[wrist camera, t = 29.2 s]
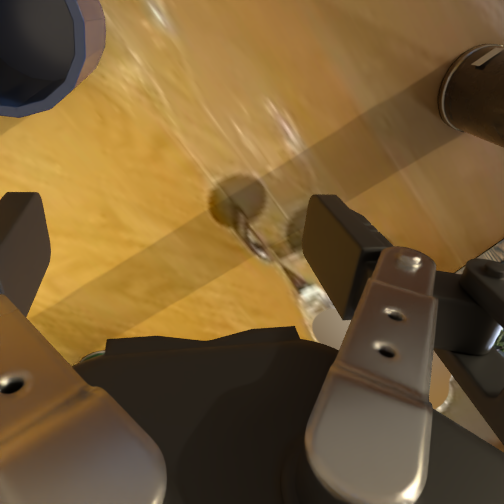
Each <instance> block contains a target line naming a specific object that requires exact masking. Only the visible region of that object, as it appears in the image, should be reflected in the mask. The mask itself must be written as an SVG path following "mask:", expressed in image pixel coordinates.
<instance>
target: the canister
mask: <svg viewBox="0 0 504 504" xmlns="http://www.w3.org/2000/svg"><path fill="white" fill-rule="evenodd" d="M105 40H106V26H105V16H104V13H103V10H102V7H101V4H100V1H99V0H0V116H8V117H17V118H20V117H24V116H28V115H32V114H35V113H39V112H43V111H46V110H50V109H52V108H53V107H54V106H55V105H56V104H57V103H59V102H60V101H61V100H62V99H63V98H64V97H65V96H66V95H68V94H69V93H70V92H71V91H72V90H73V89H74V88H75V87H76V86H77V85H79V84H80V83H81V82H82V81H83V80H84V79H85V78H86V77H87V76H88V75H89V74H90V73H91V72H92V71H93V70H94V69H96V67H97V65H98V62H99V60H100V58H101V56H102V53H103V50H104V48H105Z"/></svg>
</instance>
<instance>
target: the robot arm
mask: <svg viewBox="0 0 504 504" xmlns="http://www.w3.org/2000/svg"><path fill="white" fill-rule="evenodd" d="M438 105H439V111H440V115H441V117H442V119H443V120H444V122H445V123H446V124H447V125H448V126H450V127H451V128H454V129H456V130H459V131H462V132H466V133H469V134H471V135H474V136H476V137H479V138H481V139H484V140H486V141H489V142H491V143H494V144H496V145H499V146H501V147H504V46H502V45H496V44H483V45H479V46H476V47H474V48H472V49H470V50H468V51H467V52H465V53H464V54H463V55H461V56H460V57H459V58H458V59H457V60H456V61H455V62H454V64H453V65H452V66H451V67H450V69H449V70H448V72H447V74H446V76H445V78H444V80H443V82H442V85H441V88H440V92H439V99H438ZM302 249H303V254H304V256H305V258H306V260H307V262H308V263H309V265H310V267H311V268H312V270H313V272H314V273H315V275H316V277H317V278H318V280H319V282H320V283H321V285H322V287H323V288H324V290H325V291H326V293H327V295H328V296H329V298H330V300H331V301H332V303H333V305H334V306H335V308H336V310H337V311H338V313H339V315H340V316H341V318H342V320H351V322H350V325H349V328H348V330H347V332H346V335H345V337H344V340H343V342H342V345H341V347H340V350H336V349H334V348H332V347H329V346H327V345H324V344H321V343H317V342H314V341H309V340H303V339H300V337H299V335H298V333H297V331H296V328H295V326H289V327H275V328H261V329H251V330H247V331H243V332H240V333H236V334H232V335H229V336H225V337H221V338H217V339H214V340H209V341H199V340H190V339H181V338H172V337H163V336H148V337H134V338H119V339H107V342H106V349H105V354H103V355H100V356H96V357H93V358H91V359H88V360H85V361H83V362H81V363H78V364H76V365H74V366H72V367H71V366H70V365H69V363H68V362H67V361H66V360H65V359H64V358H63V357H62V356H61V355H60V354H59V353H58V352H57V351H56V349H55V348H54V347H53V346H52V345H51V344H50V343H49V342H48V341H47V340H46V339H45V338H44V337H43V335H42V334H41V333H40V332H39V331H38V330H37V329H36V328H35V327H34V326H33V325H32V324H31V323H30V321H29V320H28V319H27V318H26V317H27V314H28V312H29V310H30V307H31V305H32V303H33V300H34V298H35V296H36V293H37V291H38V289H39V286H40V284H41V282H42V279H43V277H44V274H45V272H46V270H47V267H48V265H49V262H50V256H51V247H50V240H49V234H48V229H47V224H46V219H45V214H44V208H43V203H42V199H41V196H40V195H39V193H38V192H7V193H6V194H5V195H4V196H3V197H2V199H1V200H0V504H504V453H503V452H502V451H500V450H499V449H497V448H495V447H494V446H492V445H491V444H489V443H487V442H486V441H484V440H483V439H481V438H479V437H478V436H476V435H475V434H473V433H471V432H470V431H468V430H467V429H465V428H463V427H462V426H460V425H459V424H457V423H455V422H454V421H452V420H451V419H449V418H447V417H446V416H444V415H443V414H441V413H439V412H438V411H436V410H435V409H433V408H432V404H431V403H430V402H429V389H430V380H431V370H432V360H433V350H434V351H435V353H436V354H437V355H438V357H439V358H440V359H441V361H442V362H443V363H444V365H445V366H446V367H447V369H448V370H449V372H450V373H451V374H452V376H453V377H454V378H455V380H456V381H457V382H458V384H459V385H460V387H461V388H462V389H463V391H464V392H465V393H466V395H467V396H468V397H469V399H470V400H471V401H472V403H473V404H474V406H475V407H476V408H477V410H478V411H479V412H480V414H481V415H482V416H483V418H484V419H485V420H486V422H487V423H488V425H489V426H490V427H491V429H492V430H493V431H494V433H495V434H496V435H497V437H498V438H499V439H500V441H501V442H502V444H503V445H504V358H503V356H502V355H501V354H500V353H499V352H498V351H497V350H496V349H495V348H494V347H493V345H494V343H495V341H496V339H497V337H498V335H499V333H500V332H501V330H502V328H503V329H504V264H502V263H499V262H496V261H492V260H488V259H471V260H469V261H468V262H467V263H466V266H465V268H464V270H463V273H462V274H456V273H449V272H443V271H436V264H435V262H434V261H433V260H432V259H431V258H430V257H428V256H427V255H425V254H423V253H421V252H419V251H417V250H414V249H410V248H406V247H398V246H393V245H392V244H391V243H390V242H389V241H388V240H387V239H386V238H385V237H384V236H383V235H382V234H381V233H380V232H378V230H377V229H376V228H375V227H374V226H373V225H371V223H370V222H369V221H368V220H367V219H366V218H365V217H364V216H362V215H360V214H359V213H357V212H355V211H353V210H351V209H349V208H348V207H347V206H346V205H345V204H344V203H343V202H342V201H341V199H340V198H339V197H338V196H336V195H312V196H311V198H310V200H309V204H308V210H307V215H306V221H305V227H304V232H303V238H302Z"/></svg>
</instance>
